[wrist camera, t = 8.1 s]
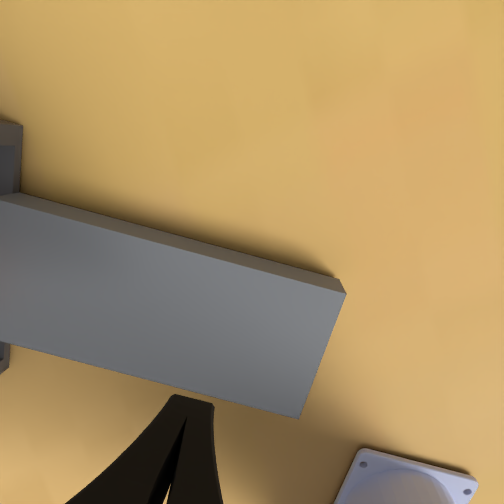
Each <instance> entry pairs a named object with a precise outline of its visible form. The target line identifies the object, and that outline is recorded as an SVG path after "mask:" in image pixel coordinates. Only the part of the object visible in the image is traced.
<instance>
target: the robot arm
mask: <svg viewBox="0 0 504 504" xmlns="http://www.w3.org/2000/svg"><path fill="white" fill-rule="evenodd" d="M214 408H215V407H214V406H213V404H212V403H208V402H205V401H201V400H197V399H193V398H189V397H185V396H181V395H177V394H174V395H172V396H171V397H170V398H169V400H168V401H167V403H166V404H165V406H164V407H163V408H162V410H161V411H160V412H159V413H158V415H157V416H156V417H155V418H154V420H153V421H152V422H151V423H150V424H149V425H148V427H147V428H146V429H145V430H144V431H143V432H142V433H141V434H140V435H139V436H138V438H137V439H136V440H135V441H134V442H133V443H132V444H131V445H130V446H129V447H128V448H127V449H126V450H125V451H124V452H123V453H122V454H121V455H120V456H119V457H118V458H117V459H116V460H115V461H114V462H113V463H112V464H111V465H110V466H109V467H108V468H106V469H105V470H104V471H103V472H102V473H101V474H100V475H99V476H98V477H96V478H95V479H94V480H93V481H92V482H91V483H90V484H88V485H87V486H86V487H85V488H84V489H82V490H81V491H80V492H79V493H78V494H76V495H75V496H74V497H73V498H71V499H70V500H69V501H68V502H66V503H65V504H163V502H164V499H165V497H166V494H167V492H168V489H169V487H170V490H169V495H168V499H167V504H223V500H222V494H221V489H220V484H219V478H218V471H217V464H216V456H215V446H214V430H213V418H214ZM360 462H363V463H360ZM170 484H171V485H170ZM478 486H479V484H478V482H477V480H476V479H475V478H474V477H473V476H470V475H467V474H463V473H459V472H455V471H451V470H448V469H444V468H440V467H436V466H432V465H428V464H425V463H421V462H417V461H413V460H409V459H406V458H402V457H398V456H394V455H390V454H386V453H383V452H379V451H375V450H371V449H367V448H363V449H360V450H359V451H358V452H357V454H356V456H355V459H354V461H353V463H352V465H351V467H350V469H349V472H348V474H347V476H346V478H345V480H344V482H343V485H342V487H341V489H340V491H339V493H338V495H337V498H336V500H335V502H334V504H468V503H469V501H470V499H471V498H472V496H473V495H474V493H475V491H476V490H477V488H478Z"/></svg>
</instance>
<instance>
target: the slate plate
mask: <svg viewBox="0 0 504 504" xmlns="http://www.w3.org/2000/svg"><path fill="white" fill-rule="evenodd" d="M345 296H346V292H345V290H344V288H343V286H342V284H341V282H340V280H339V279H337V278H333V277H329V276H325V275H322V274H318V273H314V272H311V271H307V270H303V269H300V268H296V267H292V266H289V265H285V264H281V263H278V262H274V261H270V260H267V259H263V258H259V257H255V256H252V255H248V254H244V253H241V252H237V251H233V250H230V249H226V248H222V247H219V246H215V245H211V244H208V243H204V242H200V241H197V240H193V239H189V238H186V237H182V236H178V235H174V234H171V233H167V232H163V231H160V230H156V229H152V228H149V227H145V226H141V225H138V224H134V223H130V222H127V221H123V220H119V219H116V218H112V217H108V216H104V215H101V214H97V213H93V212H90V211H86V210H82V209H79V208H75V207H71V206H68V205H64V204H60V203H57V202H53V201H49V200H46V199H42V198H38V197H34V196H31V195H27V194H23V193H20V192H18V193H13V194H7V195H2V196H0V341H2V342H5V343H9V344H13V345H17V346H21V347H24V348H28V349H32V350H36V351H40V352H44V353H47V354H51V355H55V356H59V357H63V358H66V359H70V360H74V361H78V362H82V363H85V364H89V365H93V366H97V367H101V368H104V369H108V370H112V371H116V372H120V373H124V374H127V375H131V376H135V377H139V378H143V379H146V380H150V381H154V382H158V383H162V384H165V385H169V386H173V387H177V388H181V389H184V390H188V391H192V392H196V393H200V394H204V395H207V396H211V397H215V398H219V399H223V400H226V401H230V402H234V403H238V404H242V405H245V406H249V407H253V408H257V409H261V410H264V411H268V412H272V413H276V414H280V415H284V416H287V417H291V418H295V419H299V417H300V415H301V412H302V409H303V407H304V404H305V401H306V399H307V396H308V394H309V391H310V388H311V386H312V383H313V380H314V378H315V375H316V373H317V370H318V367H319V365H320V362H321V359H322V357H323V354H324V352H325V349H326V346H327V344H328V341H329V338H330V336H331V333H332V331H333V328H334V325H335V323H336V320H337V317H338V315H339V312H340V310H341V307H342V304H343V302H344V299H345Z"/></svg>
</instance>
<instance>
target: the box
mask: <svg viewBox="0 0 504 504" xmlns="http://www.w3.org/2000/svg"><path fill="white" fill-rule="evenodd" d="M22 136H23V126H22V125H19V124H15V123H11V122H8V121H4V120H0V196H2V195H7V194H13V193H18V192H19V187H20V170H21V153H22ZM9 357H10V344H9V343H5V342H2V341H0V374H1V373H3V372H4V371H5V370H6V369H7V368H9Z"/></svg>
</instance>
